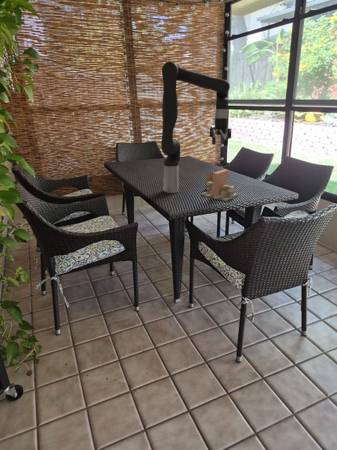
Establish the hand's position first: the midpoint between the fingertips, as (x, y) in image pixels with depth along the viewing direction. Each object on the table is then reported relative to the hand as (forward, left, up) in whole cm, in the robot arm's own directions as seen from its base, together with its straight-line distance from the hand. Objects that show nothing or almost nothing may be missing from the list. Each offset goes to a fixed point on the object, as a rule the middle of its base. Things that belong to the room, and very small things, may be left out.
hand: (219, 145), depth 190 cm
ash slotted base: (+6, -6, -30) cm, 31 cm away
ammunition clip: (-7, +5, -30) cm, 31 cm away
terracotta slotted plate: (+6, -6, -28) cm, 30 cm away
